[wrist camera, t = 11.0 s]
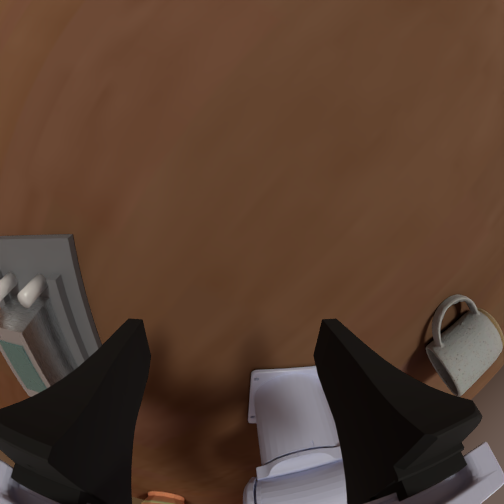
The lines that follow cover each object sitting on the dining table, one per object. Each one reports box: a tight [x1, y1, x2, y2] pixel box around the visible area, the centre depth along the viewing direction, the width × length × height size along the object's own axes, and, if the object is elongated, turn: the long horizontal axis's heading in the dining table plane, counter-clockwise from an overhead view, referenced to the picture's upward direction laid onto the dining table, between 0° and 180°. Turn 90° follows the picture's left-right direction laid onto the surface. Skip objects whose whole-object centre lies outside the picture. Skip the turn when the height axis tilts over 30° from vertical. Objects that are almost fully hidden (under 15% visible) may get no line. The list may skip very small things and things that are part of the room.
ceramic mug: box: [426, 295, 504, 397], centre depth 22 cm, size 11×8×8 cm
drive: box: [0, 294, 78, 397], centre depth 18 cm, size 9×5×5 cm, turn 178°
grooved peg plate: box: [0, 234, 102, 367], centre depth 20 cm, size 20×12×4 cm, turn 177°
